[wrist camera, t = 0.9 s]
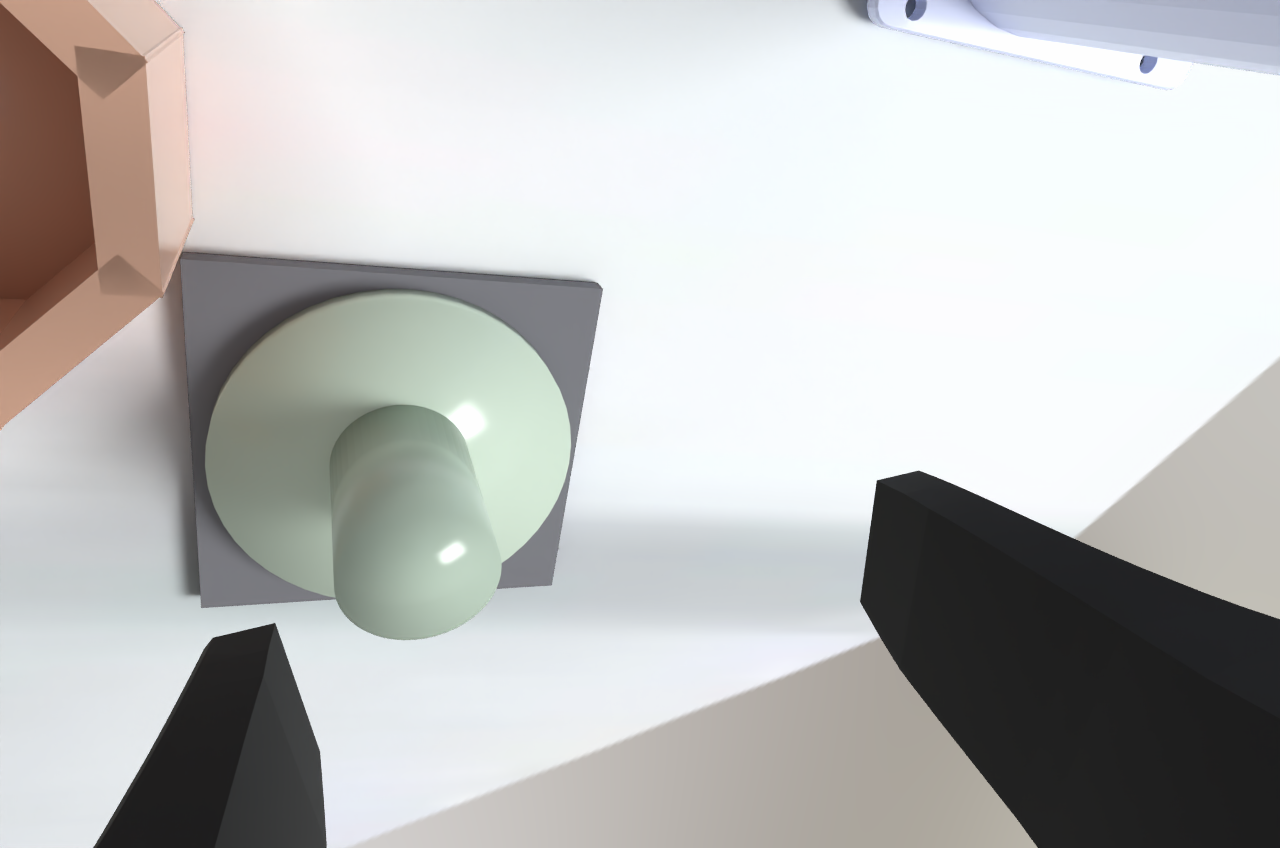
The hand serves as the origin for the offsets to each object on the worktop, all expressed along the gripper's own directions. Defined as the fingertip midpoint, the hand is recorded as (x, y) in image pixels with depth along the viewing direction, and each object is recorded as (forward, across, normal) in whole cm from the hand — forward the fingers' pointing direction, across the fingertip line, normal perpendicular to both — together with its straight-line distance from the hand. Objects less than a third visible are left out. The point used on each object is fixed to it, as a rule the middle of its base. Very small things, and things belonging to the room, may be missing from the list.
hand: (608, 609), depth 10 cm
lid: (+10, +2, +3) cm, 11 cm away
